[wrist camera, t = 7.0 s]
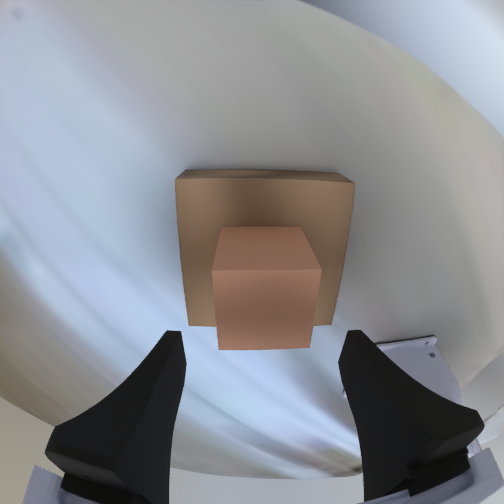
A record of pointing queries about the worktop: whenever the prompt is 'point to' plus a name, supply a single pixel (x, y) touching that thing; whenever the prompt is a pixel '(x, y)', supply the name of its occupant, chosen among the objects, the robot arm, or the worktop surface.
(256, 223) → the walnut block
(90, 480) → the robot arm
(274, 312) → the terracotta cube
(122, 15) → the worktop surface
